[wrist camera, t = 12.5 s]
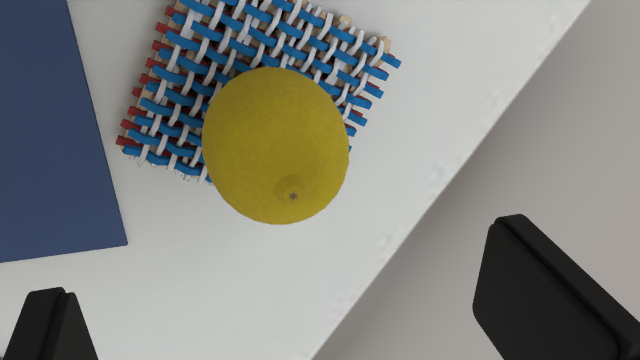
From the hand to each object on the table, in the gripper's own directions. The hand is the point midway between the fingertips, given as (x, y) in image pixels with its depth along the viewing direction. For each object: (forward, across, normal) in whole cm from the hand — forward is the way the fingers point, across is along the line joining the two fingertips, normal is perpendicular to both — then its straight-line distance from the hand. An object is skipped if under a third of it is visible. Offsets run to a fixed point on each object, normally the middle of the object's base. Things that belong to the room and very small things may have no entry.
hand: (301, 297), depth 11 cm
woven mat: (+15, -1, 0) cm, 15 cm away
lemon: (+13, -1, 0) cm, 13 cm away
